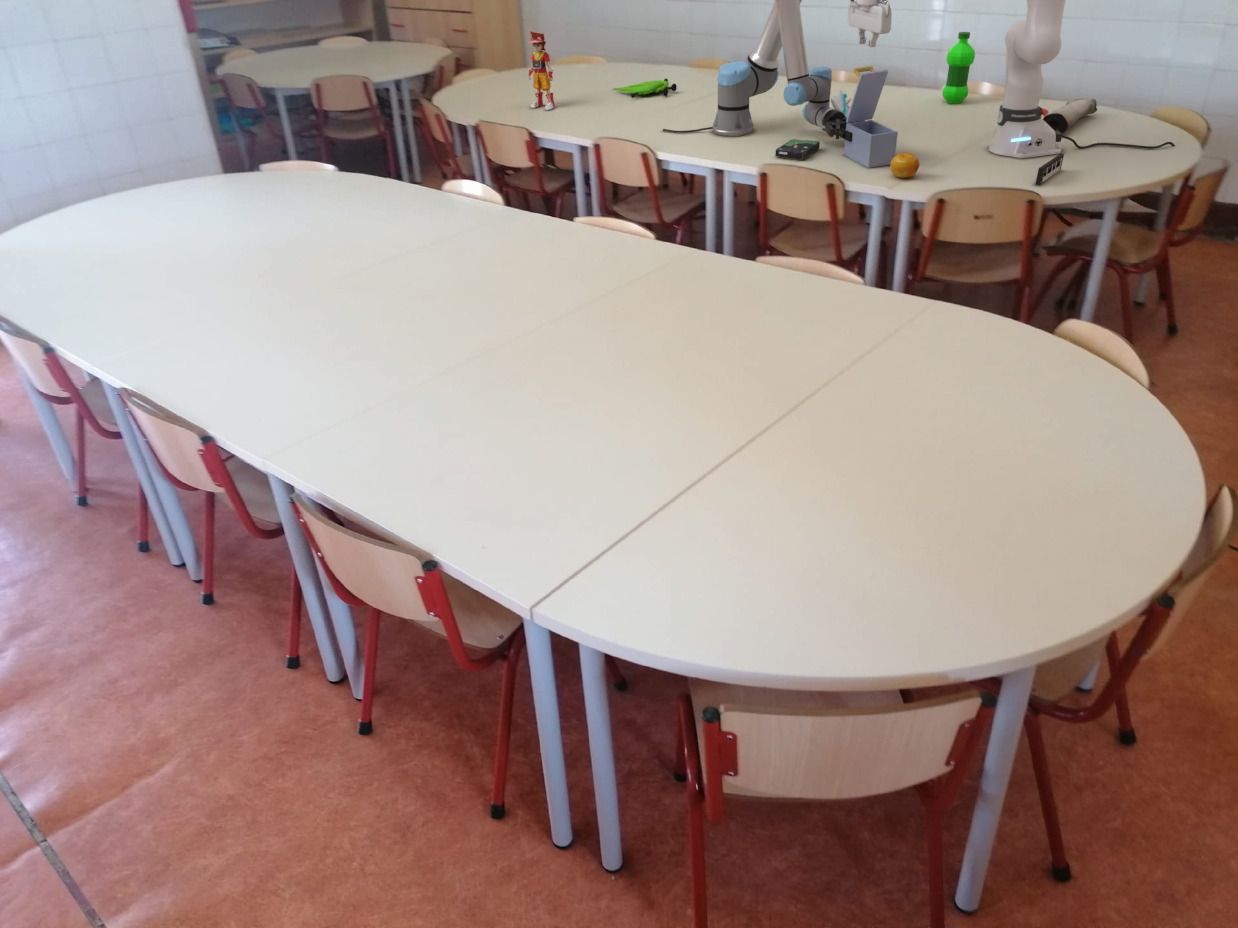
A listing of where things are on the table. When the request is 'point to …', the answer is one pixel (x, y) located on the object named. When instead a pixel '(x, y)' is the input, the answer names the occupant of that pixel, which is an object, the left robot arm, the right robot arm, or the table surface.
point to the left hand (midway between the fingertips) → (864, 135)
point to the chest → (871, 143)
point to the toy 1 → (541, 71)
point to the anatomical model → (841, 103)
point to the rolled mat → (1070, 113)
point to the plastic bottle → (958, 69)
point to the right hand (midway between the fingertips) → (867, 45)
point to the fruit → (904, 165)
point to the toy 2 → (648, 88)
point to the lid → (866, 94)
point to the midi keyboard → (1049, 169)
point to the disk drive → (797, 149)
